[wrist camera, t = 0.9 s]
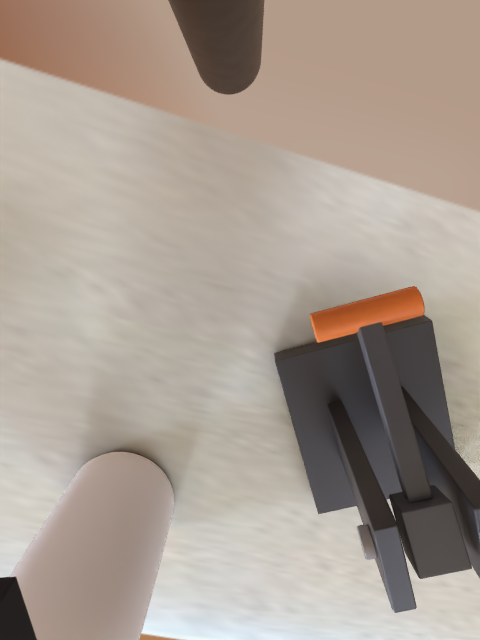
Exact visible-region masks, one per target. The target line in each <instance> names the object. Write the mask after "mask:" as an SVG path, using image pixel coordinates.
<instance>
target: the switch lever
mask: <svg viewBox="0 0 480 640" xmlns="http://www.w3.org/2000/svg"><path fill="white" fill-rule="evenodd" d="M423 314H424V303H423V299H422V296H421V294H420V292H419V290H418V289H417V287H415V286H412V287H408V288H405V289H401V290H397V291H393V292H390V293H386V294H382V295H379V296H375V297H371V298H367V299H364V300H360V301H356V302H352V303H349V304H345V305H341V306H337V307H334V308H330V309H326V310H322V311H319V312H315V313H311V314H310V319H311V323H312V327H313V331H314V334H315V337H316V340H317V342H318V343H319V342H323V341H327V340H331V339H335V338H339V337H343V336H346V335H350V334H354V333H357V335H358V339H359V342H360V346H361V349H362V353H363V356H364V360H365V363H366V367H367V370H368V374H369V377H370V381H371V384H372V387H373V391H374V394H375V398H376V401H377V405H378V408H379V412H380V415H381V419H382V422H383V426H384V429H385V433H386V436H387V440H388V443H389V447H390V450H391V454H392V457H393V461H394V464H395V468H396V471H397V475H398V478H399V482H400V485H401V489H402V492H399V493H394V494H390V495H389V498H390V501H391V505H392V508H393V512H394V515H395V519H396V522H397V525H398V529H399V533H400V536H401V540H402V544H403V547H404V551H405V553H406V555H407V557H408V559H409V561H410V562H411V564H412V566H413V568H414V570H415V571H416V573H417V575H418V577H419V578H420V579H423V578H428V577H433V576H438V575H443V574H448V573H453V572H458V571H463V570H468V569H472V566H471V563H470V559H469V556H468V553H467V549H466V546H465V543H464V539H463V536H462V533H461V529H460V526H459V523H458V519H457V516H456V512H455V509H454V506H453V503H452V501H451V500H450V499H448V498H447V497H446V496H445V495H444V494H443V493H442V492H441V491H440V490H439V489H438V488H437V487H436V486H435V485H431V486H430V484H429V481H428V478H427V474H426V471H425V467H424V464H423V461H422V457H421V454H420V450H419V447H418V444H417V440H416V437H415V433H414V430H413V427H412V423H411V420H410V416H409V413H408V409H407V406H406V403H405V399H404V396H403V392H402V389H401V386H400V382H399V379H398V375H397V372H396V369H395V365H394V362H393V358H392V355H391V352H390V348H389V345H388V341H387V338H386V334H385V331H384V328H383V326H385V325H389V324H393V323H397V322H400V321H404V320H408V319H412V318H416V317H420V316H422V315H423Z"/></svg>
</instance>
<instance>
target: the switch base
mask: <svg viewBox="0 0 480 640" xmlns="http://www.w3.org/2000/svg"><path fill="white" fill-rule="evenodd" d="M383 328H384V331H385V334H386V338H387V341H388V345H389V348H390V352H391V355H392V358H393V362H394V365H395V369H396V372H397V375H398V379H399V382H400V386H401V389H402V392H403V396H404V399H405V403H406V406H407V409H408V413H409V416H410V420H411V423H412V427H413V430H414V433H415V437H416V440H417V444H418V447H419V450H420V454H421V457H422V461H423V464H424V467H425V471H426V474H427V478H428V481H429V484H430V486H431V485H435V486H436V487H437V488H438V489H439V490H440V491H441V492H442V493H443V494H444V495H445V496H446V497H447V498H448V499H450V500H451V501H452V503H453V506H454V509H455V512H456V516H457V519H458V523H459V526H460V529H461V533H462V536H463V539H464V543H465V546H466V549H467V553H468V556H469V559H470V563H471V565H472V566H473V568H474V570H475V571H476V573H477V575H478V576H479V578H480V480H479V478H478V477H477V476H476V475H475V474H474V472H473V471H472V470H471V469H470V467H469V466H468V465H467V464H466V463H465V461H464V460H463V459H462V458H461V456H460V455H459V454H458V453H457V452H456V450H455V446H454V441H453V435H452V430H451V424H450V419H449V413H448V408H447V402H446V396H445V391H444V385H443V380H442V374H441V369H440V363H439V358H438V352H437V347H436V341H435V335H434V330H433V324H432V320H430V319H429V318H427V317H425V316H424V315H422V316H420V317H416V318H412V319H408V320H404V321H400V322H397V323H393V324H389V325H385V326H383ZM274 356H275V362H276V366H277V370H278V373H279V377H280V380H281V384H282V387H283V391H284V394H285V398H286V401H287V405H288V408H289V412H290V415H291V419H292V423H293V426H294V430H295V433H296V437H297V440H298V444H299V447H300V451H301V454H302V458H303V461H304V465H305V468H306V472H307V476H308V479H309V483H310V486H311V490H312V493H313V497H314V500H315V504H316V507H317V511H318V514H321V513H326V512H330V511H335V510H339V509H344V508H349V507H353V506H357V507H358V510H359V513H360V516H361V519H362V522H363V525H360V526H357V530H358V534H359V538H360V541H361V545H362V548H363V552H364V555H365V558H366V560H370V559H375V560H376V563H377V566H378V569H379V572H380V574H381V577H382V580H383V583H384V586H385V589H386V592H387V595H388V598H389V601H390V604H391V607H392V609H393V611H394V613H397V612H402V611H407V610H412V609H416V603H415V598H414V594H413V590H412V585H411V581H410V577H409V572H408V568H407V563H406V559H405V555H404V550H403V546H402V542H401V537H400V533H399V529H398V525H397V523H396V520H395V518H394V516H393V514H392V511H391V509H390V507H389V505H388V503H387V500H386V499H390V498H389V495H390V494H394V493H399V492H402V489H401V485H400V482H399V478H398V475H397V471H396V468H395V464H394V461H393V457H392V454H391V450H390V447H389V443H388V440H387V436H386V433H385V429H384V426H383V422H382V419H381V415H380V412H379V408H378V405H377V401H376V398H375V394H374V391H373V387H372V384H371V381H370V377H369V374H368V370H367V367H366V363H365V360H364V356H363V353H362V349H361V346H360V342H359V339H358V335H357V333H354V334H350V335H346V336H343V337H339V338H335V339H331V340H327V341H323V342H319V343H318V342H316V343H312V344H308V345H304V346H300V347H296V348H292V349H289V350H285V351H281V352H277V353H274Z"/></svg>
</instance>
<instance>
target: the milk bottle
mask: <svg viewBox="0 0 480 640" xmlns="http://www.w3.org/2000/svg"><path fill="white" fill-rule="evenodd" d="M173 509H174V493H173V490H172V487H171V484H170V482H169V480H168V478H167V477H166V475H165V473H164V472H163V471H162V470H161V469H160V468H159V467H158V466H157V465H156V464H154V463H153V462H152V461H150V460H148V459H147V458H145V457H143V456H140V455H137V454H134V453H128V452H111V453H106V454H103V455H100V456H98V457H95V458H93V459H91V460H90V461H88V462H87V463H86V464H84V465H83V466H82V467H81V468H80V470H79V471H78V472H77V474H76V475H75V476H74V478H73V479H72V481H71V482H70V484H69V485H68V487H67V488H66V490H65V491H64V493H63V494H62V496H61V497H60V499H59V500H58V502H57V503H56V505H55V506H54V508H53V509H52V511H51V512H50V514H49V516H48V517H47V519H46V520H45V522H44V523H43V525H42V526H41V528H40V529H39V531H38V532H37V534H36V535H35V537H34V538H33V540H32V542H31V543H30V545H29V546H28V548H27V549H26V551H25V552H24V554H23V556H22V557H21V559H20V560H19V562H18V563H17V565H16V567H15V568H14V570H13V571H12V573H11V574H10V576H9V577H16V578H17V581H18V584H19V587H20V590H21V593H22V596H23V599H24V602H25V605H26V608H27V611H28V614H29V617H30V620H31V623H32V626H33V629H34V632H35V635H36V638H37V640H139V638H140V635H141V632H142V628H143V625H144V621H145V618H146V614H147V610H148V607H149V603H150V599H151V595H152V592H153V588H154V584H155V581H156V577H157V573H158V569H159V565H160V562H161V558H162V554H163V550H164V546H165V542H166V539H167V535H168V531H169V527H170V523H171V519H172V514H173Z"/></svg>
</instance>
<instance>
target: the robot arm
mask: <svg viewBox="0 0 480 640" xmlns="http://www.w3.org/2000/svg"><path fill="white" fill-rule="evenodd" d="M0 640H37V638H36V635H35V632H34V629H33V626H32V623H31V620H30V617H29V614H28V611H27V608H26V605H25V602H24V599H23V596H22V593H21V590H20V587H19V584H18V581H17V578H16V577H4V578H0Z"/></svg>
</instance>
